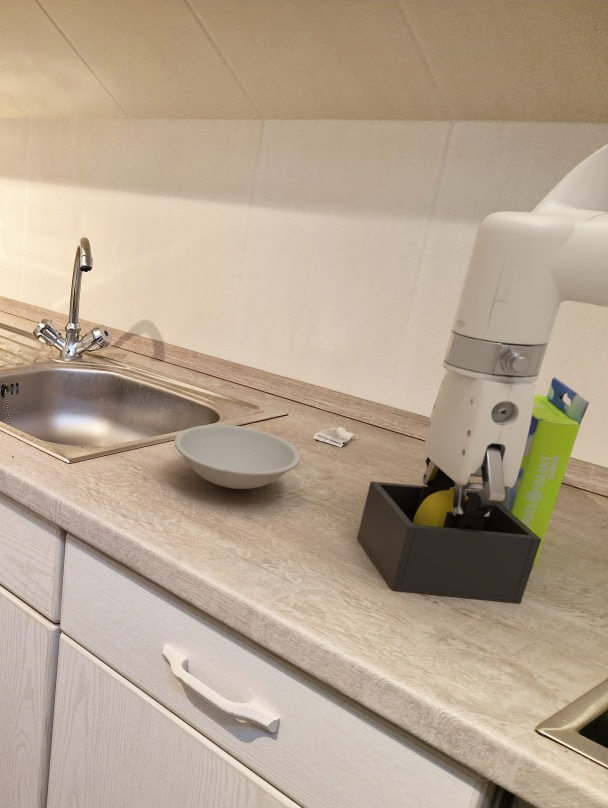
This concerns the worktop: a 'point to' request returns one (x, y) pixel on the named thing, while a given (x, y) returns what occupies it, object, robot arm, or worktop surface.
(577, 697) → the worktop surface
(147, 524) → the worktop surface
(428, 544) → the basket
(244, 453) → the dish
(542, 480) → the box
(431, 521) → the lemon
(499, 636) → the worktop surface
